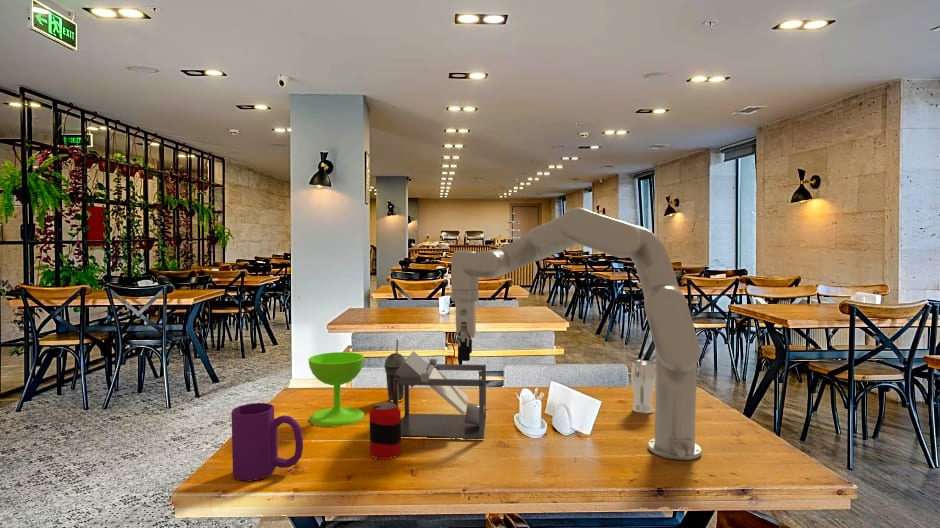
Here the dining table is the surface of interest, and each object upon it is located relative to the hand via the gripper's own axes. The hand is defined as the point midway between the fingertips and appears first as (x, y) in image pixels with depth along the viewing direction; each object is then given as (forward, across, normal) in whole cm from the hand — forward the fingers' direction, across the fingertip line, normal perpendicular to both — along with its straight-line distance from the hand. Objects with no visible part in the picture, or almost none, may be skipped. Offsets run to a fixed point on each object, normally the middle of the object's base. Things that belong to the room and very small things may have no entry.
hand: (465, 356), depth 155 cm
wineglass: (+20, +7, +38) cm, 44 cm away
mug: (+20, -32, +43) cm, 57 cm away
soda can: (+20, -19, +18) cm, 34 cm away
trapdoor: (+10, 0, +10) cm, 14 cm away
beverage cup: (+20, +25, +24) cm, 41 cm away
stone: (+16, 0, 0) cm, 16 cm away
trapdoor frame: (+20, 0, +6) cm, 21 cm away
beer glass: (+20, +19, -54) cm, 60 cm away
